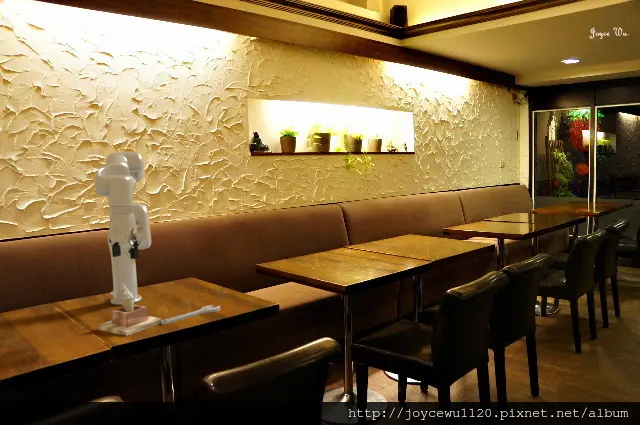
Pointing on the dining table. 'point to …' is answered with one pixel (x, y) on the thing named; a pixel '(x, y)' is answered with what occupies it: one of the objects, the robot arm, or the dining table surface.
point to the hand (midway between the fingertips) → (125, 257)
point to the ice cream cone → (127, 299)
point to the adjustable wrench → (191, 314)
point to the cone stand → (129, 321)
